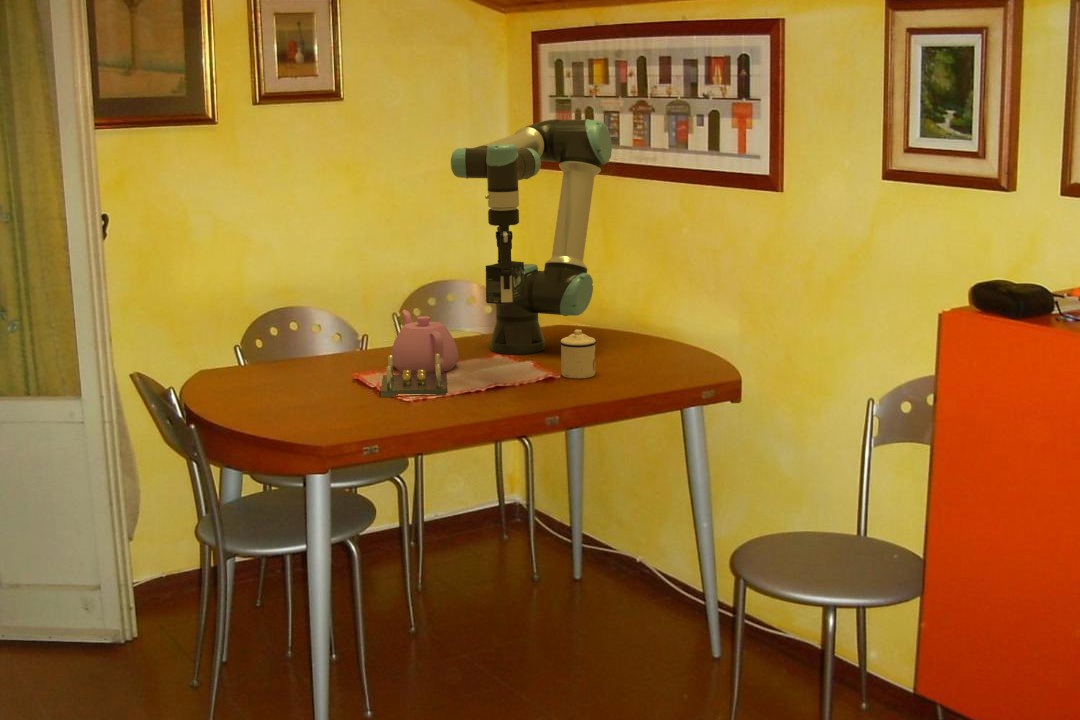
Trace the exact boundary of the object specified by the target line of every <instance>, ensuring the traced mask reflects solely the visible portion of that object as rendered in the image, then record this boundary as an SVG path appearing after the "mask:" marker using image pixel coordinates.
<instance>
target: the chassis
mask: <svg viewBox="0 0 1080 720" xmlns="http://www.w3.org/2000/svg"><path fill="white" fill-rule="evenodd" d="M435 360H436V365H435V367H436V373H435V374H426V370H425V369H419V370H418V373H417V374H411V370H403V372H402V374H394V365H393V355H391V354H389V355H387V365H386V367H385V368H386V374H383V375H382V380H381V387H380V398H392V397H393V398H394V397H395V396H396V395H398V394H446V393H448V376H447V375H448V374H447V372H442V373H441V366H440V354H439V353H437V354H435Z"/></svg>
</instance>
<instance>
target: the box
mask: <svg viewBox="0 0 1080 720" xmlns="http://www.w3.org/2000/svg"><path fill="white" fill-rule="evenodd" d="M511 262H512V302H515V301H518V300H521V299H524V264H525V263H524V261H517V260H516V261H515V260H511ZM504 270H508V269H504ZM498 273H501V263H498V262H497V263H494V264H490V265H489V264H488V265H485V303H486V304H492V305H493V304H494V305H496V304H500V305H505V304H508V303H511V302H501V276H498Z"/></svg>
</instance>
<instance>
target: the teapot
mask: <svg viewBox="0 0 1080 720" xmlns="http://www.w3.org/2000/svg"><path fill="white" fill-rule="evenodd" d="M402 316H403V326H402V327H401V329H400V330H399V332H398V334H397V335H396V337H395V339H394V341H393V345H392V347H391V352H390V355H393V367H394V368H395V369H396V370H398V371H399V372H401V373H403V370H411V374H417V373H418V370H419V369H425V370H426V374H435V373H436V367H435V365H436V360H435V354H437V353H439V354H440V366H441V373H447V372H448V371H451V370H452V369H453V368H454V367H455V366H456V365H457V363H458V361H459V359H460V356H459V355H460V354H459V350H458V348H457V347H458V346H457V343H456V341H455V339H454V337H453V336H452V334H451V332H450V331H449V329H448V328H447V326H445V324H443V323H442V322H439V321H430V320H431V317H430V316H428V315H421V316H417V317H416V321H413V318H412V316H411V313H410V311H408V310H407V309H403V310H402Z"/></svg>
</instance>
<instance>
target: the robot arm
mask: <svg viewBox="0 0 1080 720" xmlns="http://www.w3.org/2000/svg"><path fill="white" fill-rule="evenodd" d="M610 134H611V133H610V131H609V128H608V127H607V125H606V124H605V122H603V121H602V120H599V119H597V120H596V119H590V118H587V119H557V118H556V119H554V118H553V119H548V120H547V119H546V120H543V121H540V122H535V123H533V124H530V125H526V126H524V127H523V126H522V127H520V128H519V129H518V130H516V132H515V133H514V134H511V135H509V136H506V137H503V138H499V139H498V140H494V141H492V142H488V143H486V144H482V145H479V146H478V145H477V146H476V147H461V148H460V147H459V148H456V149H454V150H453V152H452V154H451V157H450V168H451V171H452V174H453V175H454V176H455V177H456V178H461V179H467V180H468V179H487V180H486V181H487V194H485V196H484V197H485V200H487V205H488V206H487V207H488V208H489V209H488V211H487V216H488V217H487V219H488V221H487V222H488V224H489V226H495V227H497V228H496V231H495V239H496V246H497V263H501V273H498V276H501V302H511V303H508V304H505V305H500V304H495V318H496V319H495V320H496V321H495V325H494V328H493V331H492V336H491V338H490V341H489V343H490V351H492V352H493V353H499V354H504V355H505V354H507V355H524V354H525V355H526V354H527V355H528V354H533V353H539V352H541V351H544V350H545V349H546V339H545V336H544V334H543V330H542V329H541V328H542V327H541V324H540V322H539V314H541V315H542V314H543V315H544V314H545V315H555V316H556V315H557V316H561V315H562V316H564V317H568V316H569V317H570V316H572V317H574V316H579V315H582V314H584V312H585V311H586V310H587V308H588V307H589V304H591V300H592V297H593V292H594V285H593V284H594V281H593V278H592V276H591V275H590V274H589V273H588V267H587V266H586V264H585V263H584V256H585V255H584V254H585V249H586V242H587V234H588V229H589V228H588V226H589V219H590V211H591V204H592V197H593V191H594V183H595V177H596V176H598V175H599V174H600V173H601V171H602V165H606V164H607V163H609V162H610V159H611V157H612V150H613V149H612V146H613V145H612V137H611V135H610ZM542 162H548V163H549V162H552V163H555V162H556V163H558V167H559V169H560V170H561V171H562V172H563V174H562V180H561V188H560V195H559V202H558V209H557V217H556V224H555V230H554V238H553V245H552V253H551V257H550V258H549V259H548V260H547V261H545V263H544V269H543V270H539V266H538V265H537V264H534V263H526V264H525V263H524V299H521V300H518V301H515V302H512V262H511V261H512V249H513V232H512V231H511V230H510V226H515V225H518V224H519V223H520V210H519V208H518V207H519V206H520V196H519V195H520V193H519V192H520V191H519V181H521V180H529V179H531V178H532V177H535V176H536V175H537V174H538V173H539V171H540V170H541V166H542ZM504 269H508V270H504Z"/></svg>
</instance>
